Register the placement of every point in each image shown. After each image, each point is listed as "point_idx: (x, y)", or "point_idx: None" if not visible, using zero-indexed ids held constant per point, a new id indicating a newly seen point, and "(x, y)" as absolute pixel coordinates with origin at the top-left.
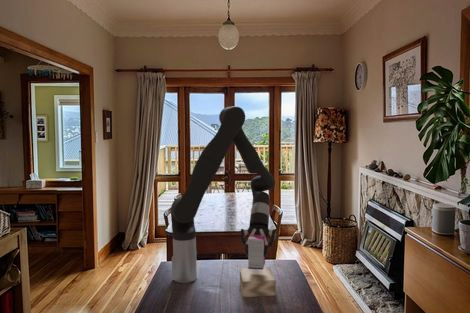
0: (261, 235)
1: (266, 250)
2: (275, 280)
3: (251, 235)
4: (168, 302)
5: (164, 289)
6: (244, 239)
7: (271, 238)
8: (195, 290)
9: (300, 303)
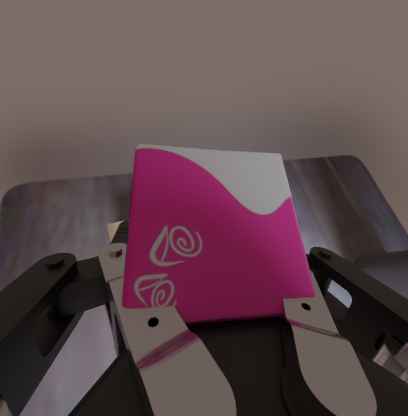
0: (173, 302)
1: (125, 232)
2: (108, 224)
3: (296, 265)
4: (334, 174)
5: (376, 221)
6: (330, 275)
7: (23, 303)
8: (319, 227)
9: (47, 203)
